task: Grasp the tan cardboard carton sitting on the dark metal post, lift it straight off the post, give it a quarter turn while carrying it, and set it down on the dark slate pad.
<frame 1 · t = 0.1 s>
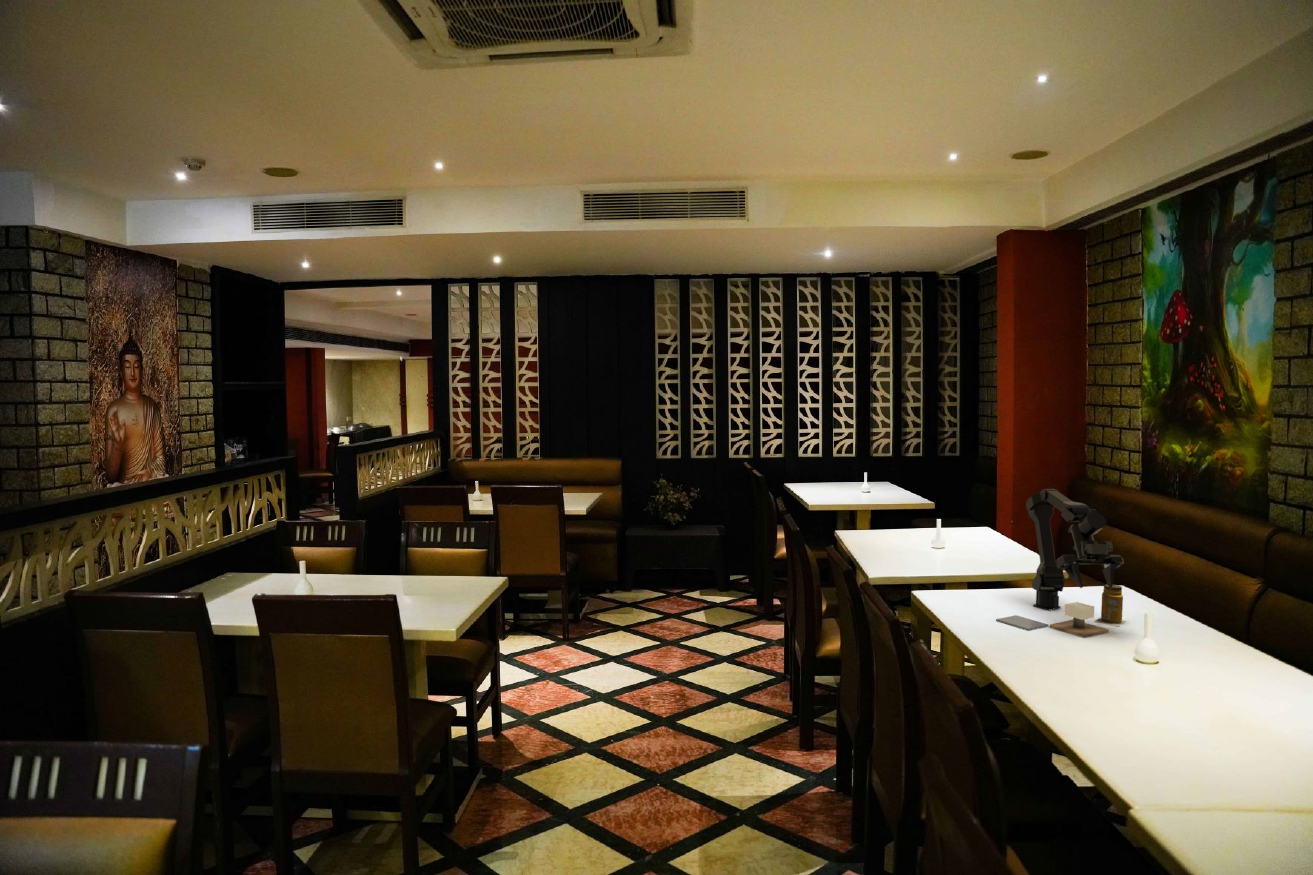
hand: (1096, 587, 245), 15 cm above the table, tool tilted 30°, fingers open, 9 cm apart
condiment: (1110, 622, 260), on the table
tan cardboard carton: (1079, 616, 250), point 4 cm above the table, touching post base
post base: (1078, 629, 250), on the table
pad: (1022, 623, 257), on the table
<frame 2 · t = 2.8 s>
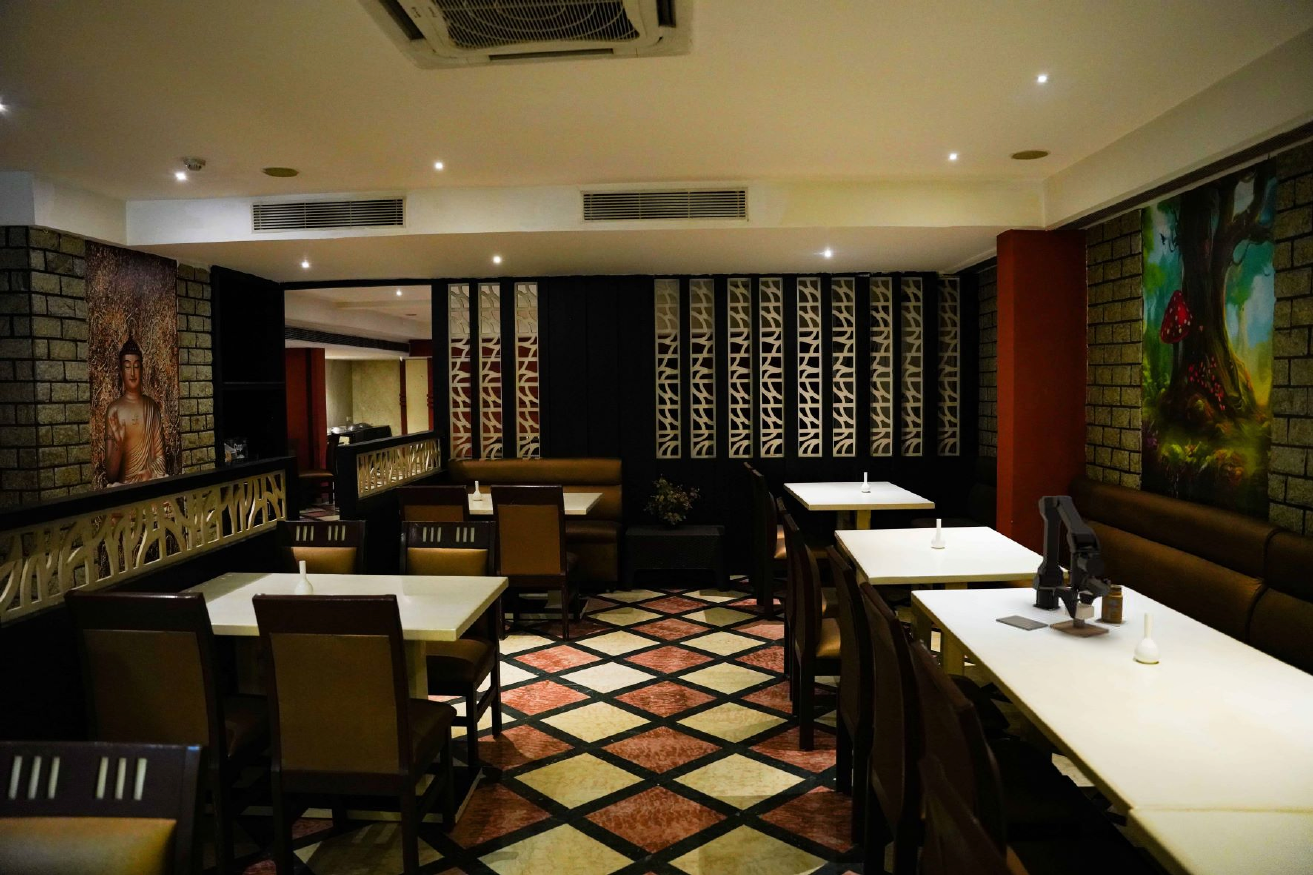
hand: (1079, 616, 250), 4 cm above the table, tool pointing down, fingers closed on tan cardboard carton, 6 cm apart
tan cardboard carton: (1079, 616, 250), point 5 cm above the table, touching gripper, post base
everything else where it was.
when the fingers open (2 cm above the table, at t = 9.8 s): tan cardboard carton drops 1 cm, resting on pad.
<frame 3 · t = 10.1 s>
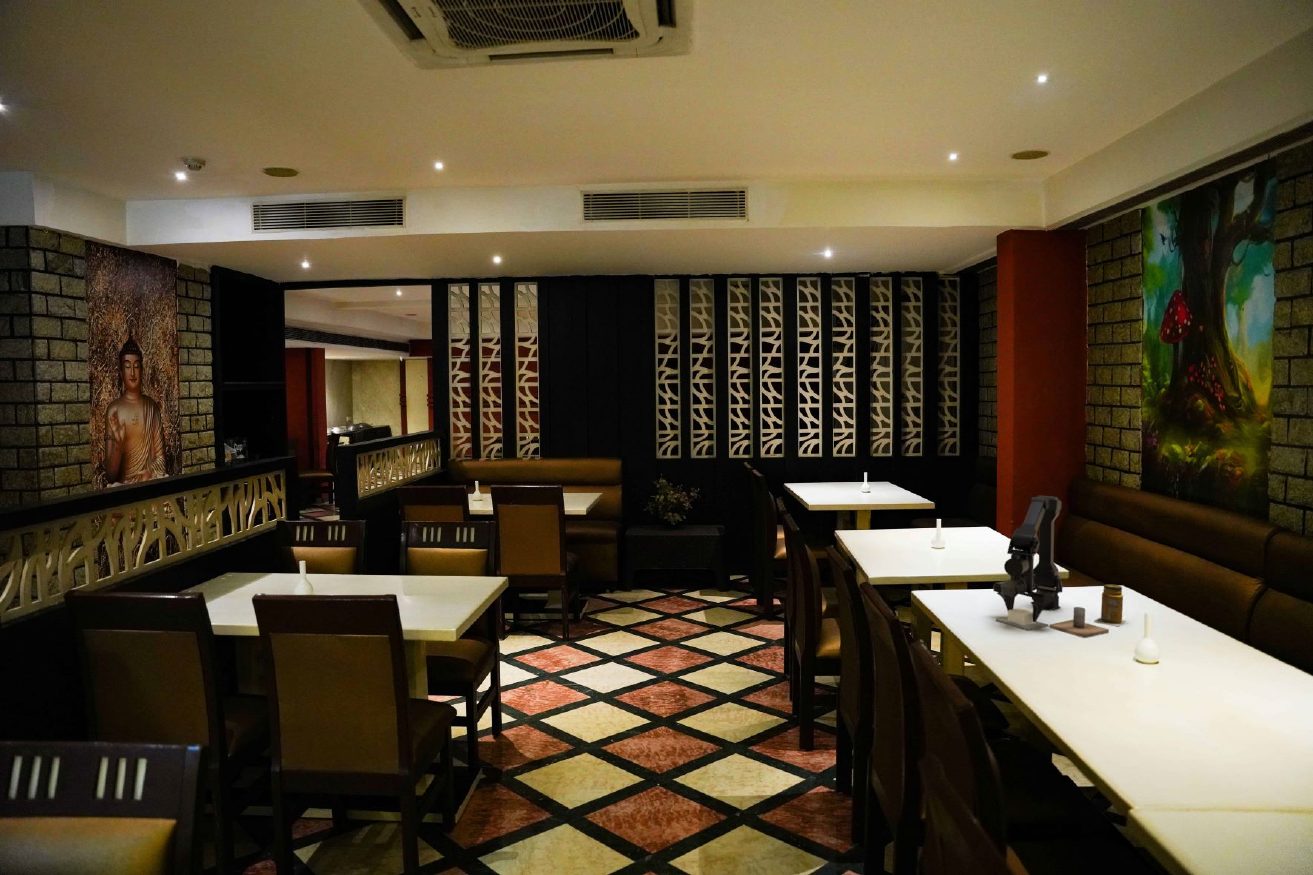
hand: (1022, 618, 257), 2 cm above the table, tool pointing down, fingers open, 9 cm apart
tan cardboard carton: (1021, 621, 257), point 1 cm above the table, touching pad
everything else where it was.
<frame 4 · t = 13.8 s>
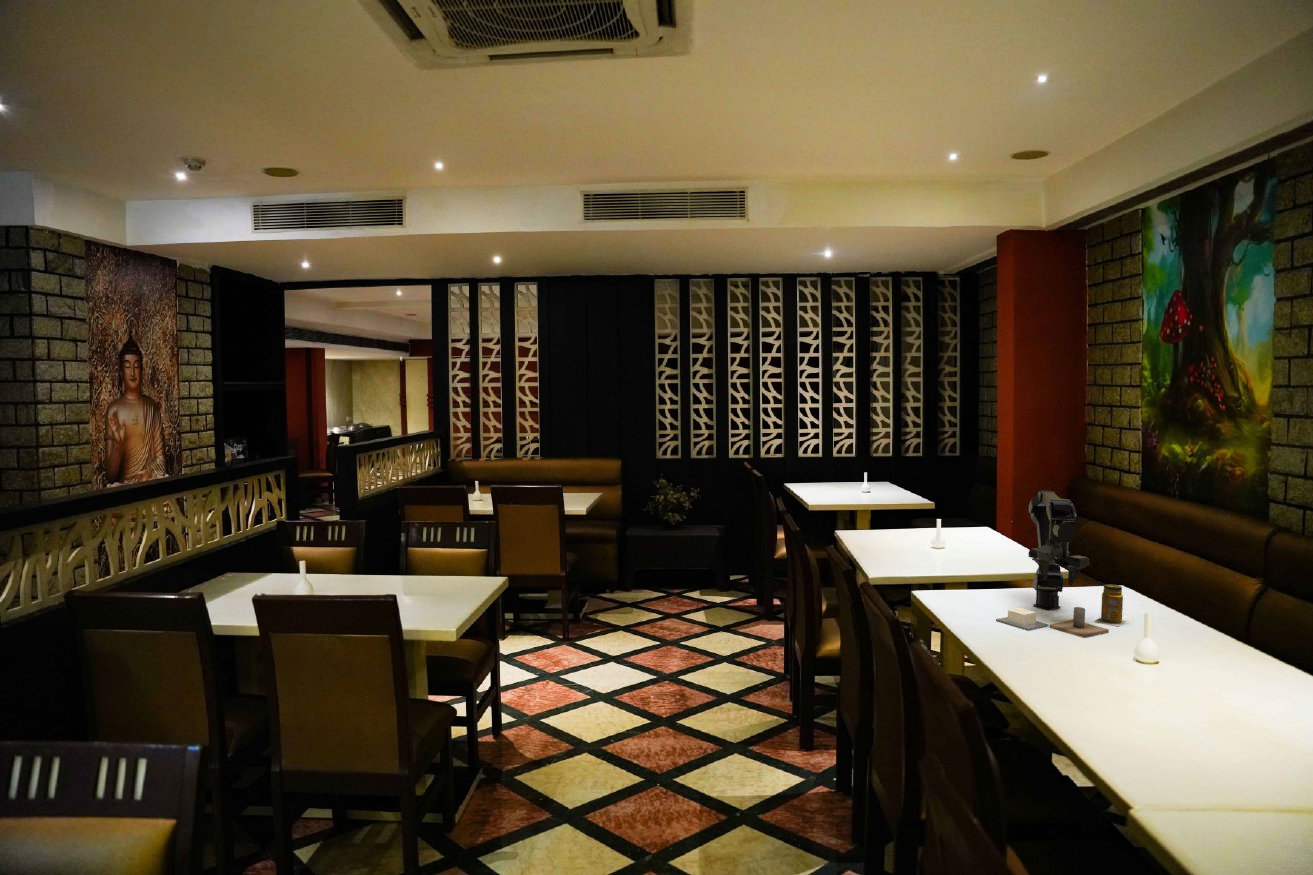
hand: (1057, 582, 263), 12 cm above the table, tool pointing down, fingers open, 9 cm apart
nothing on the table moved.
at the end: tan cardboard carton 0.1 cm from the pad (horizontally); tan cardboard carton point 0.6 cm above the table; the gripper is holding nothing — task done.
